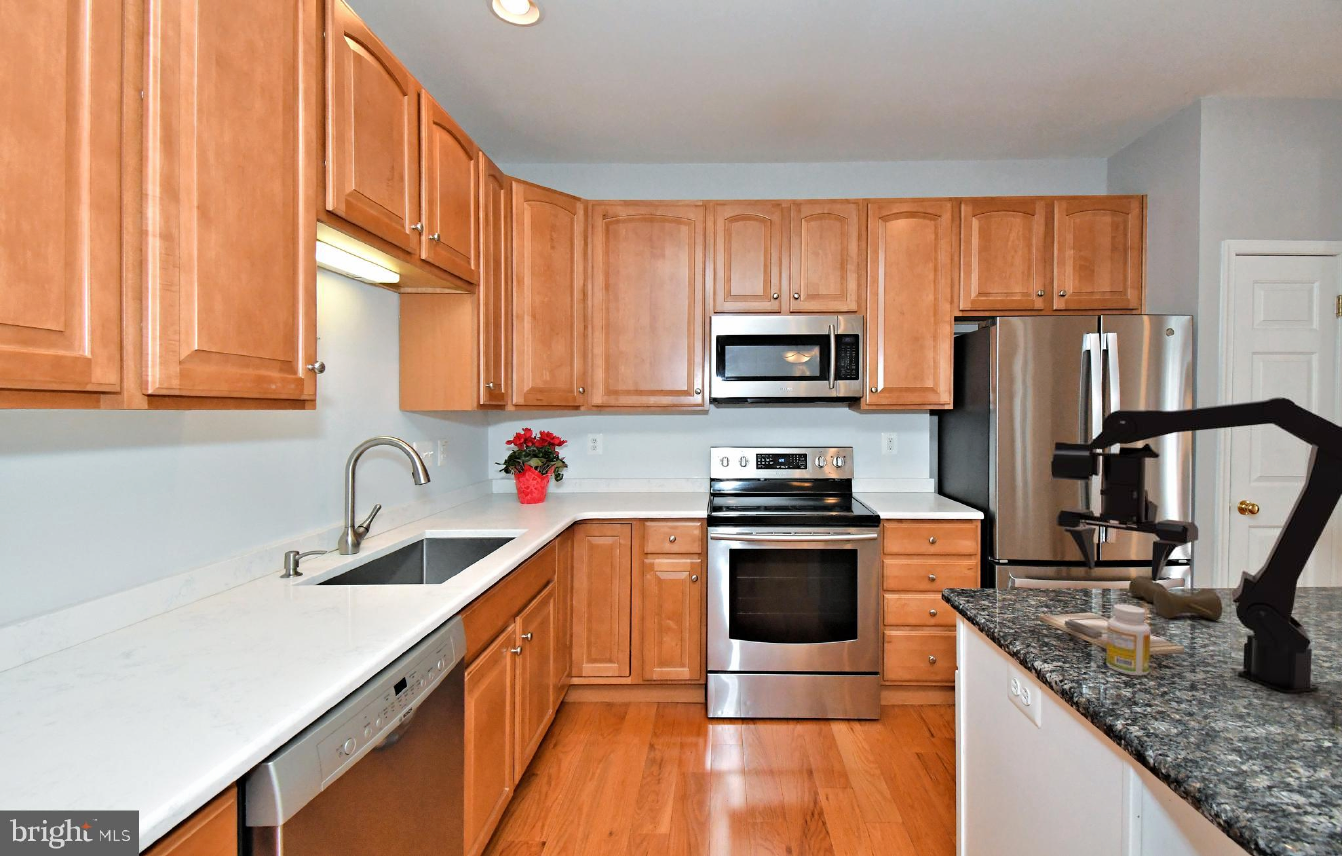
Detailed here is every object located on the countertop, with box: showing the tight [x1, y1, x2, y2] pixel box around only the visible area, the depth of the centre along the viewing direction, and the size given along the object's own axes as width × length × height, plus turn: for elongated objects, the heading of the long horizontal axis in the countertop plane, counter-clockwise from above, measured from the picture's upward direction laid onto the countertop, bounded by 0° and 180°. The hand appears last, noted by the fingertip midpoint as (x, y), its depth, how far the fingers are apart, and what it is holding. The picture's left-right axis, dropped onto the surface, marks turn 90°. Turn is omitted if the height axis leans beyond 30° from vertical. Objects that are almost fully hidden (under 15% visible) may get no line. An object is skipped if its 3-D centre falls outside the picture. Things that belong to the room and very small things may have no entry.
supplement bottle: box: [1105, 603, 1151, 676], centre depth 95 cm, size 5×5×10 cm
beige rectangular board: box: [1038, 612, 1185, 656], centre depth 110 cm, size 18×12×2 cm, turn 11°
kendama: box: [1128, 575, 1223, 621], centre depth 124 cm, size 6×10×20 cm
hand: (1122, 574), depth 103 cm, fingers open, 9 cm apart
